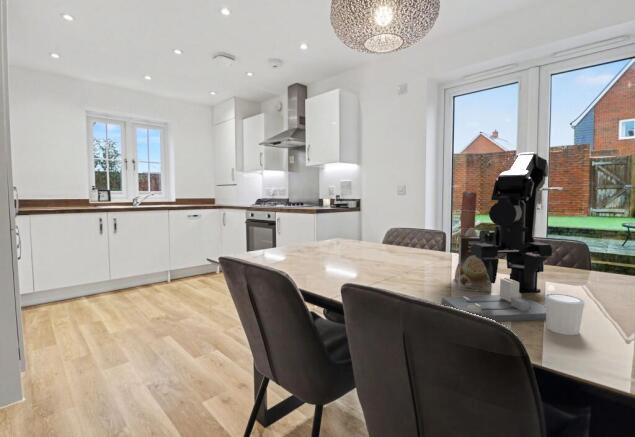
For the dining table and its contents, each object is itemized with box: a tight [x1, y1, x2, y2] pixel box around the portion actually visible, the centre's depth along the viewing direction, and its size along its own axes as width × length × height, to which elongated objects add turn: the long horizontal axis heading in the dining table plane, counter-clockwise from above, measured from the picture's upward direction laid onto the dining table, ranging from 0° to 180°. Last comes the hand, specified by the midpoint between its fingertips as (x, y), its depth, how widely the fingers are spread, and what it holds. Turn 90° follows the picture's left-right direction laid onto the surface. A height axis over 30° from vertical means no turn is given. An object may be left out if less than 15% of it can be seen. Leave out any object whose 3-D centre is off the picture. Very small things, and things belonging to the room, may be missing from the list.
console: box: [441, 292, 546, 323], centre depth 83 cm, size 22×14×4 cm, turn 94°
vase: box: [454, 191, 478, 282], centre depth 112 cm, size 10×7×30 cm
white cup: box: [544, 293, 585, 336], centre depth 71 cm, size 7×7×7 cm
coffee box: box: [457, 234, 493, 293], centre depth 102 cm, size 9×6×16 cm
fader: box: [499, 277, 520, 302], centre depth 86 cm, size 2×4×5 cm, turn 5°
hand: (509, 282), depth 86 cm, fingers open, 9 cm apart
